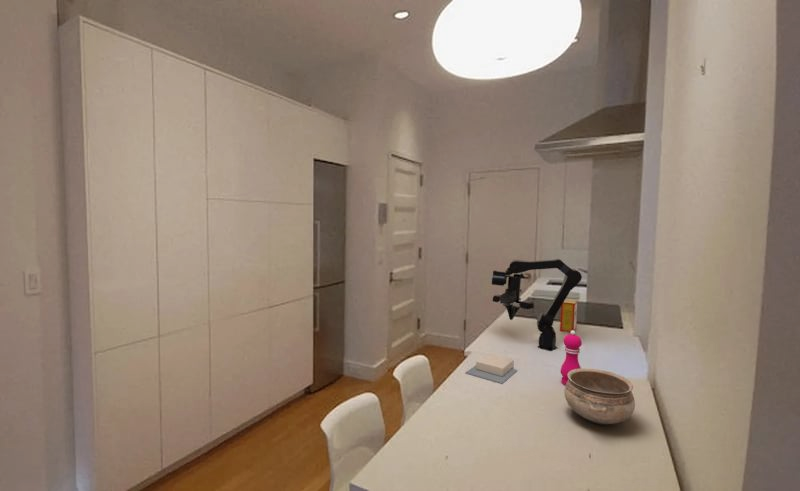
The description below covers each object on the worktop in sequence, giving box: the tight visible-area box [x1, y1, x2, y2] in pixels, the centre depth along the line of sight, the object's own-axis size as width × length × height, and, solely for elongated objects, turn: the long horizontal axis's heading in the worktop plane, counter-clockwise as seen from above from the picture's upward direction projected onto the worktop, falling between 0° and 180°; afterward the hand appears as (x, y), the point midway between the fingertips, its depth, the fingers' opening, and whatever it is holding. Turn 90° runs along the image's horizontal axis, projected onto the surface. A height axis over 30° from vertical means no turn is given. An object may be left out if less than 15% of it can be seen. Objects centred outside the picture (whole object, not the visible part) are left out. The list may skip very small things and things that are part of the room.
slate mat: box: [465, 365, 518, 385], centre depth 151 cm, size 15×15×1 cm
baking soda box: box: [559, 298, 579, 333], centre depth 206 cm, size 10×6×16 cm
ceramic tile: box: [475, 353, 515, 376], centre depth 153 cm, size 3×11×11 cm
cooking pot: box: [563, 367, 636, 426], centre depth 116 cm, size 25×19×12 cm
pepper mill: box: [559, 330, 583, 387], centre depth 140 cm, size 7×7×20 cm
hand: (511, 319), depth 181 cm, fingers closed
